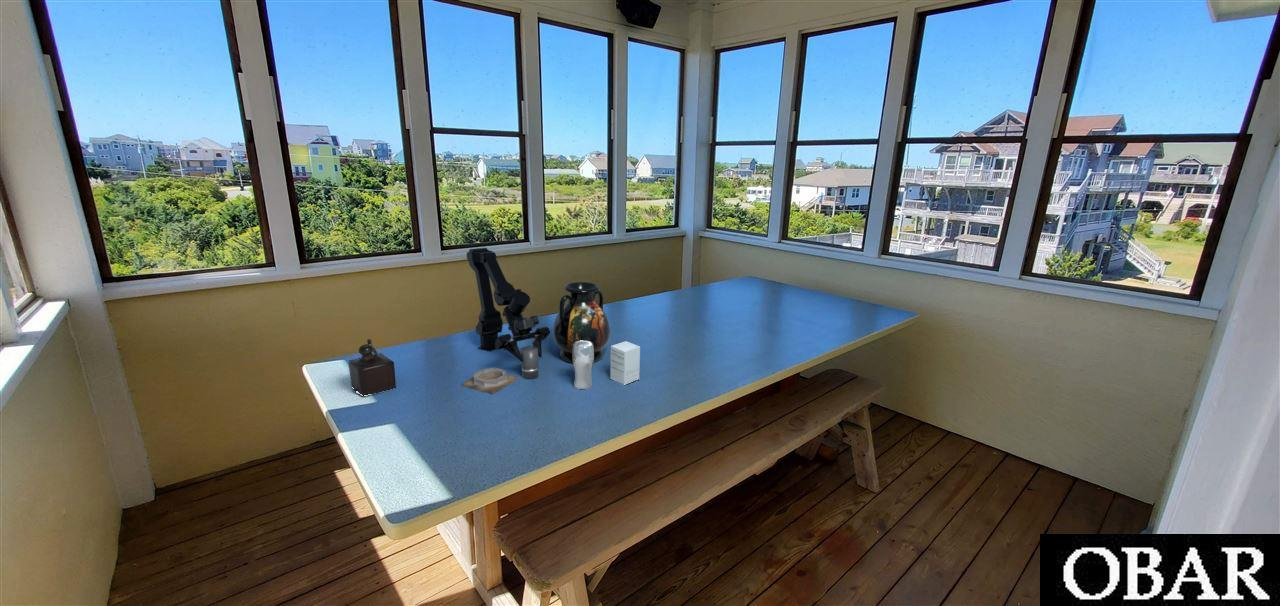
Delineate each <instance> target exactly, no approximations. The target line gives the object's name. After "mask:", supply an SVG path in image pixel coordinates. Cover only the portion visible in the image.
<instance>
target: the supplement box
mask: <svg viewBox="0 0 1280 606" xmlns="http://www.w3.org/2000/svg"><path fill="white" fill-rule="evenodd" d="M640 362H641V346H639V345H637V344H634V343H632V342H629V341H627V340H626V341H622V342H619V343H616V344H615V343H614V344H613V345H610V374H609V375H610V376H609V377H610V380H611V379H612V380H614V381H617V382H619V383H621V384H623V385H626V384H628V383H631V382H633V381H635V380H638V379H639V380H640V364H641V363H640ZM612 380H611V381H612ZM614 381H613V382H614ZM619 383H618V384H619ZM621 384H620V385H621ZM631 384H632V383H631ZM623 385H622V386H623ZM626 386H627V385H626Z"/></svg>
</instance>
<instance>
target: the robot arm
mask: <svg viewBox="0 0 1280 606" xmlns="http://www.w3.org/2000/svg"><path fill="white" fill-rule="evenodd" d="M466 260H467V262H468V265H469V267H470V268H471V269H472V270H473V272H474V274H475V278H476V284H477V288H478V289H477V291H478V297H479V302H480V307H481V310H480V312H479V315H478V322H477V324H476V326H475V334H477V335H479V336H480V346H478V347H477V349H479V350H482V351H487V352H492V351H495V350H497V351H500V350H503V351H507V352H508V353H510V354H512V355H513V357H515V358H516V359H517V360H519V362H521V363H522V362H523V358H522V355H521V350H520V348H519V346H518V342H521V341H525V340H526V341H527V340H530V339H533V342H532V343H531V344H532V346H535V347H537V348H538V358H542V357H543V355H542V351H543V350H542V342H543V341H544V340H546V339H547V337H548V336H549V335H550V333H551V330H550V328H549V327H548V326H541V327H537V328H536V325H540V319H539V317H538V315H532V316H530V317H529V318H526V317H524V315H523V313H524V312H525V310H526V308H527V307H528V305H529V304H530V302H531V298H530V296H529V295H528V293H526V292H524V291H522V289H521V288H518V289H516V288H515V287H514V285H513V284H511V283H510V282H508V281H507V278H506V276H505V274H504V273H503V271H502V268H501V266H500V264H499V261H498V260H497V254H496V252H494V251H493V250H491V249H488V248H487V247H480V248H479V247H478V248H469V249H468V252H466ZM491 283H492V286H493V287H494V288H493V289H494V290H493V291H492V286H491ZM494 302H495V303H496V305H497V306H500V307H502V306H503V307H504V308H503V311H502V315H501V311H500V310H497V308H496V307H495V303H494ZM502 317H505V319H506V321H507V326H508V327H507V329H508V331H510V332H511V334H512V335H511V334H509V333H506V334H501V333H502V331H503V324H504V321H503V318H502ZM533 328H536V330H535V331H533ZM532 331H533V332H532ZM499 333H500V334H501V335H499Z"/></svg>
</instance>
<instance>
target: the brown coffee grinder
mask: <svg viewBox="0 0 1280 606" xmlns="http://www.w3.org/2000/svg"><path fill="white" fill-rule="evenodd" d="M366 342H367V343H364V344H362V345H360V346H359V348H358V353H359V354H360V355H361V356H360V357H357V358H353V359H350V360H348V363H347V364H348V370H349V371H348V372H349V377H350V378H349V379H350V387H351V386H352V387H353V388H354V389H352V390H354V391H355V392H356V391H358V392H359V393H360V394H362V395H363V396H364V395H368V394H374V393H379V392H382V391H386V390H390V389H392V390H394V389H393V388H395V389H397V385H396V383H397V382H396V370H395V369H396V368H395V362H394V361H393V360H392V359H390V358H389V357H388V356H386V355H384V354H383V353H382V352H378V351H377V349H375V347H374V346H373V343H372V339H371V338H369V339H367V341H366ZM354 391H353V392H354ZM390 391H391V390H390ZM355 392H354V393H355ZM379 394H380V393H379Z"/></svg>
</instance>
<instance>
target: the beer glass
mask: <svg viewBox="0 0 1280 606" xmlns="http://www.w3.org/2000/svg"><path fill="white" fill-rule="evenodd" d="M572 358H573V363H572V365H573V371H574V382H573V387H574V388H575V389H576V388H577V390H579V389H586V390H589V389H588V388H590V387H591V388H592V387H593V382H592V372H593V371H592V370H593V367H594V366H593V365H594V362H593V360H594V349H593V343H592V342H591V341H586V340H581V341H576V342H574V343H573V354H572ZM591 388H590V389H591Z"/></svg>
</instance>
